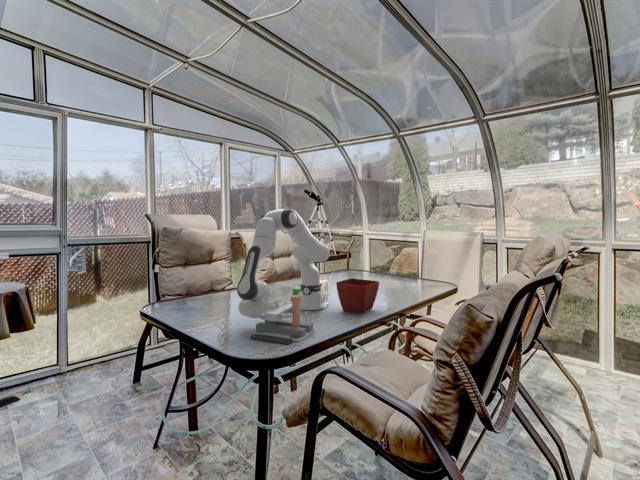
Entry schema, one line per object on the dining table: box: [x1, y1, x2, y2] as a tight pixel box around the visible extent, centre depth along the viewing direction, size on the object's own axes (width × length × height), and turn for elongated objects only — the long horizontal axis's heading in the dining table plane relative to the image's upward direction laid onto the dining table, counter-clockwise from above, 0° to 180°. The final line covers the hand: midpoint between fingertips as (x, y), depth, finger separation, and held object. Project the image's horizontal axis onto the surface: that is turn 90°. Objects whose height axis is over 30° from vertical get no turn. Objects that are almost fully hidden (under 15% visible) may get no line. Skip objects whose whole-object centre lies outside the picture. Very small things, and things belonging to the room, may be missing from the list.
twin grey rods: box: [250, 334, 294, 345], centre depth 151 cm, size 4×20×2 cm, turn 67°
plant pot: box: [335, 277, 380, 314], centre depth 202 cm, size 19×19×17 cm
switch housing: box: [252, 319, 316, 342], centre depth 162 cm, size 16×24×4 cm
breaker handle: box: [290, 294, 302, 327], centre depth 159 cm, size 4×4×16 cm
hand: (295, 313), depth 159 cm, fingers open, 8 cm apart
